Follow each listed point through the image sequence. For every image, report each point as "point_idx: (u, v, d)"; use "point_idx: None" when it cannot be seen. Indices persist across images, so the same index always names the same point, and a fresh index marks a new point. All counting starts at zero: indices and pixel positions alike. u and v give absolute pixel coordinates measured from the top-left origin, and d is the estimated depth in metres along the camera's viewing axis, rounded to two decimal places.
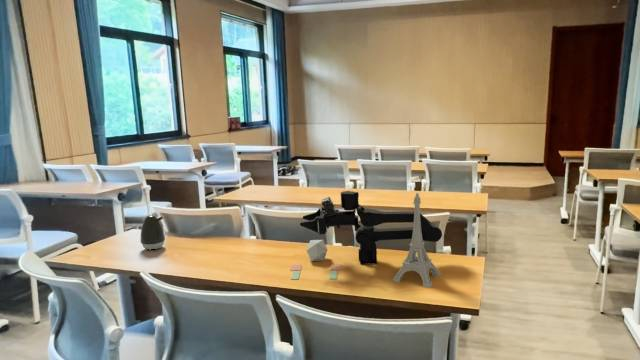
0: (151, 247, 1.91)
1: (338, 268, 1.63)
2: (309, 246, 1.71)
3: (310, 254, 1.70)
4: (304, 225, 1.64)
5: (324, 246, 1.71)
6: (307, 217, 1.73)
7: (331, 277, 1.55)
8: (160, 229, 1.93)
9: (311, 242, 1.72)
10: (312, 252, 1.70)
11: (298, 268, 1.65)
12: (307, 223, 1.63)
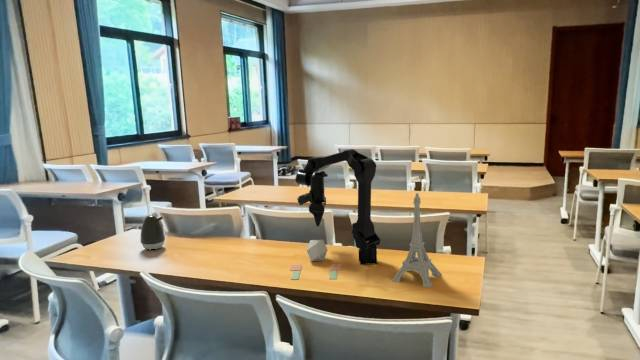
0: (151, 247, 1.91)
1: (338, 268, 1.63)
2: (309, 246, 1.71)
3: (310, 254, 1.70)
4: (318, 222, 1.80)
5: (324, 246, 1.71)
6: None
7: (331, 277, 1.55)
8: (160, 229, 1.93)
9: (311, 242, 1.72)
10: (312, 252, 1.70)
11: (298, 268, 1.65)
12: (316, 220, 1.80)
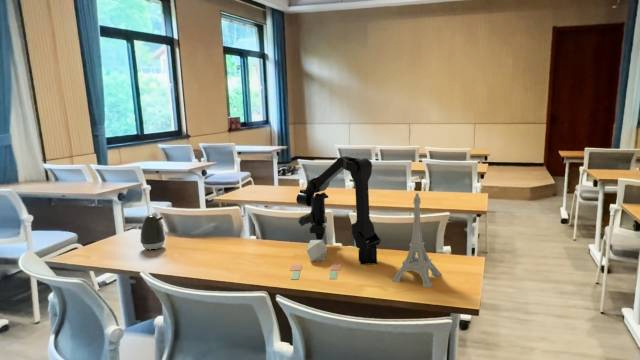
0: (151, 247, 1.91)
1: (338, 268, 1.63)
2: (309, 246, 1.71)
3: (310, 254, 1.70)
4: None
5: (324, 246, 1.71)
6: None
7: (331, 277, 1.55)
8: (160, 229, 1.93)
9: (311, 242, 1.72)
10: (312, 252, 1.70)
11: (298, 268, 1.65)
12: (317, 237, 1.86)
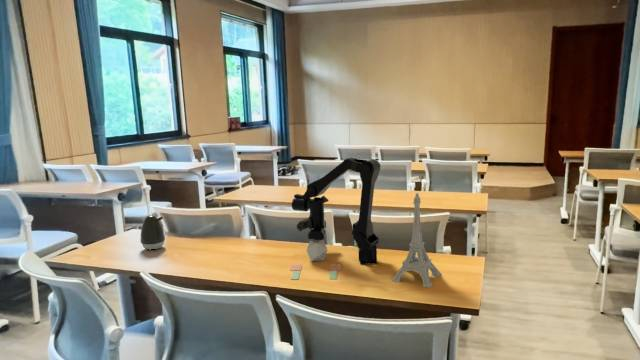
0: (151, 247, 1.91)
1: (338, 268, 1.63)
2: (309, 246, 1.71)
3: (310, 254, 1.70)
4: None
5: (324, 246, 1.71)
6: None
7: (331, 277, 1.55)
8: (160, 229, 1.93)
9: (311, 242, 1.72)
10: (312, 252, 1.70)
11: (298, 268, 1.65)
12: None
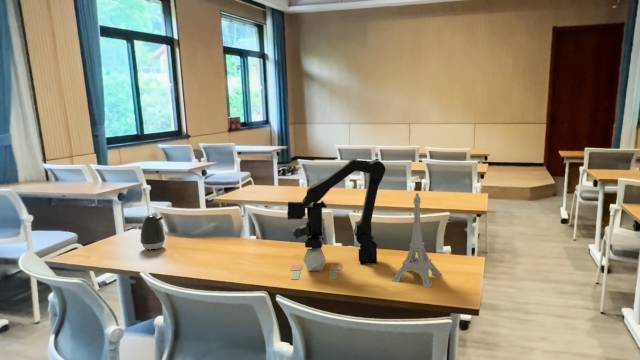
0: (151, 247, 1.91)
1: (338, 268, 1.63)
2: (306, 255, 1.61)
3: (307, 264, 1.60)
4: None
5: (322, 255, 1.61)
6: None
7: (331, 277, 1.55)
8: (160, 229, 1.93)
9: (308, 251, 1.62)
10: (309, 262, 1.59)
11: (298, 268, 1.65)
12: None
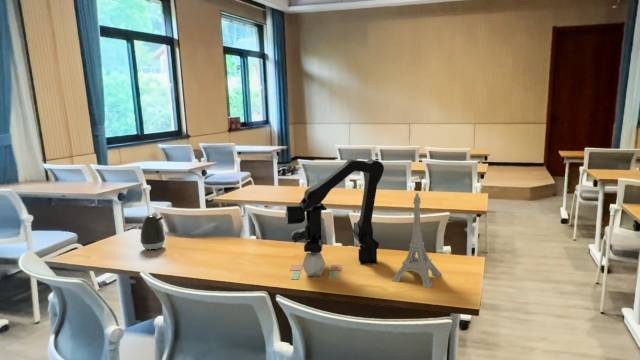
0: (151, 247, 1.91)
1: (338, 268, 1.63)
2: (305, 260, 1.56)
3: (306, 269, 1.55)
4: None
5: (322, 260, 1.56)
6: None
7: (331, 277, 1.55)
8: (160, 229, 1.93)
9: (307, 255, 1.57)
10: (308, 267, 1.55)
11: (298, 268, 1.65)
12: None
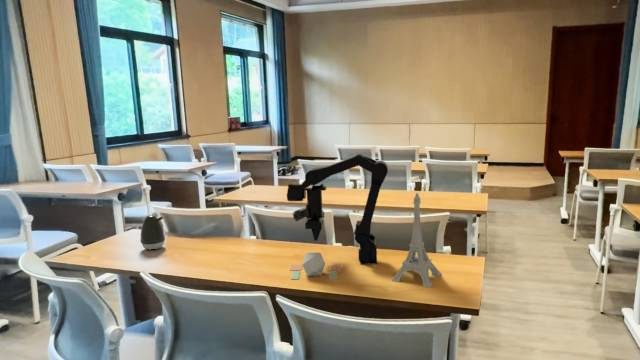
0: (151, 247, 1.91)
1: (338, 268, 1.63)
2: (305, 260, 1.56)
3: (306, 268, 1.55)
4: (316, 236, 1.70)
5: (322, 260, 1.56)
6: None
7: (331, 277, 1.55)
8: (160, 229, 1.93)
9: (307, 255, 1.57)
10: (308, 266, 1.55)
11: (298, 268, 1.65)
12: (314, 234, 1.70)
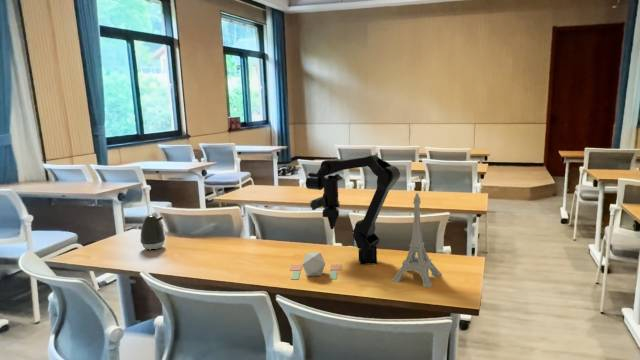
0: (151, 247, 1.91)
1: (338, 268, 1.63)
2: (305, 260, 1.56)
3: (306, 268, 1.55)
4: (332, 225, 1.75)
5: (322, 260, 1.56)
6: None
7: (331, 277, 1.55)
8: (160, 229, 1.93)
9: (307, 255, 1.57)
10: (308, 266, 1.55)
11: (298, 268, 1.65)
12: (330, 222, 1.75)
